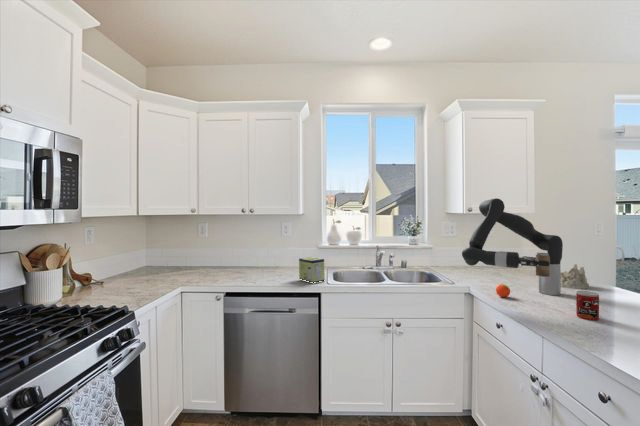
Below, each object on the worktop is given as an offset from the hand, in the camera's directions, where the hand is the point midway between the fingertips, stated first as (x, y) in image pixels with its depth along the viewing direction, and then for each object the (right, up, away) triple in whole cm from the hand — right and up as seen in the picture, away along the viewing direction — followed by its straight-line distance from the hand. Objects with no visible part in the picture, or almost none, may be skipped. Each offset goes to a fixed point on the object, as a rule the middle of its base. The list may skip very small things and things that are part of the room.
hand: (549, 262), depth 143 cm
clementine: (-3, -24, +30) cm, 39 cm away
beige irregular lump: (+53, -23, +54) cm, 79 cm away
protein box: (-109, -25, +76) cm, 135 cm away
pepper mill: (-2, -6, +2) cm, 7 cm away
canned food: (+14, -24, -3) cm, 28 cm away
